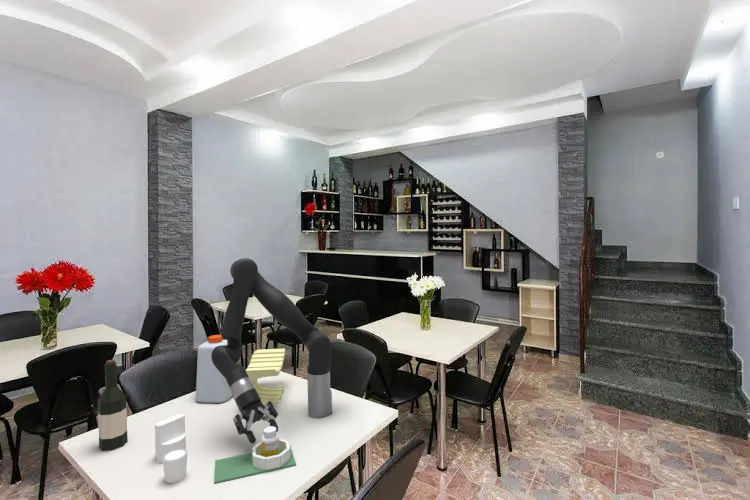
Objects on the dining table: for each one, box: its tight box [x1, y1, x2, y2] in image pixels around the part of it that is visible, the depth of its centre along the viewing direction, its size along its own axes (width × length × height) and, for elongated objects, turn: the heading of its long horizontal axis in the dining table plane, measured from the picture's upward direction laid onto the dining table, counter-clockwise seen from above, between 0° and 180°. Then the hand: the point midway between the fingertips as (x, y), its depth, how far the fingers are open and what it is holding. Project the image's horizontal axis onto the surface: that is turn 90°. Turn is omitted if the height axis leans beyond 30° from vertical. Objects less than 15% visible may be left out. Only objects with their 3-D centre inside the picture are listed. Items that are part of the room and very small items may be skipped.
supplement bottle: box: [261, 425, 280, 457], centre depth 124 cm, size 5×5×10 cm
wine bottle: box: [97, 359, 129, 452], centre depth 134 cm, size 8×8×30 cm
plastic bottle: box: [195, 334, 233, 404], centre depth 174 cm, size 15×15×28 cm
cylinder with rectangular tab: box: [154, 413, 187, 464], centre depth 128 cm, size 9×9×12 cm
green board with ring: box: [213, 438, 297, 485], centre depth 122 cm, size 24×12×4 cm, turn 111°
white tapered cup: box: [162, 449, 188, 484], centre depth 116 cm, size 7×7×7 cm
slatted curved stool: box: [245, 348, 286, 405], centre depth 173 cm, size 30×16×18 cm, turn 5°
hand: (265, 437), depth 126 cm, fingers open, 8 cm apart
